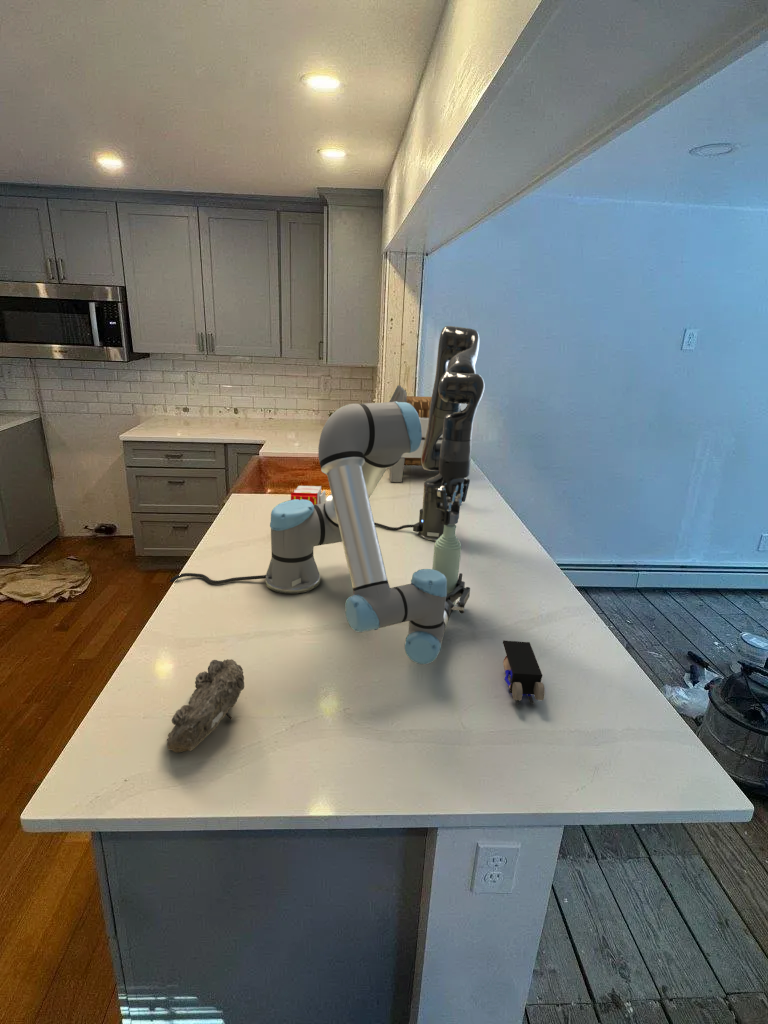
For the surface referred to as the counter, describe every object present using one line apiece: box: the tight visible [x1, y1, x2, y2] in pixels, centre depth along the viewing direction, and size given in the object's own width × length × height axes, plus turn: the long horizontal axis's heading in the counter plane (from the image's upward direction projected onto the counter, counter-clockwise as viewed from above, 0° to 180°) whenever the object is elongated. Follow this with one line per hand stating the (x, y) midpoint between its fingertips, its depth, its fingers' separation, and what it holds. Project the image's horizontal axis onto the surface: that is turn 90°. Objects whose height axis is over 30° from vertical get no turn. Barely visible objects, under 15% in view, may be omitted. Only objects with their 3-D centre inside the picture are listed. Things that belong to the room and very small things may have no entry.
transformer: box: [388, 384, 462, 483], centre depth 268 cm, size 34×33×41 cm
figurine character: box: [502, 639, 546, 706], centre depth 119 cm, size 7×8×15 cm
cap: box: [449, 509, 460, 525], centre depth 144 cm, size 4×4×2 cm
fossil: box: [166, 658, 245, 754], centre depth 106 cm, size 22×10×15 cm
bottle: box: [431, 524, 462, 605], centre depth 149 cm, size 7×7×23 cm
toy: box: [290, 485, 327, 505], centre depth 209 cm, size 12×13×30 cm
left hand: (446, 575), depth 155 cm, fingers closed on bottle, 7 cm apart
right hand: (449, 521), depth 144 cm, fingers closed on cap, 4 cm apart
